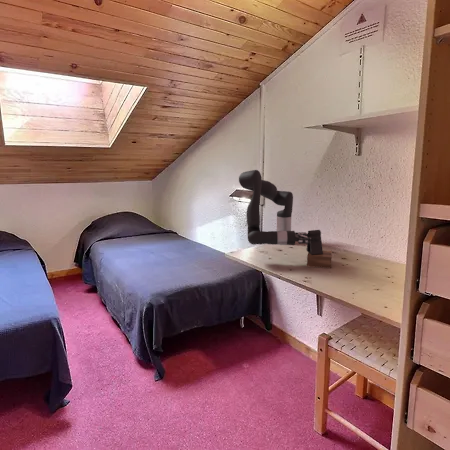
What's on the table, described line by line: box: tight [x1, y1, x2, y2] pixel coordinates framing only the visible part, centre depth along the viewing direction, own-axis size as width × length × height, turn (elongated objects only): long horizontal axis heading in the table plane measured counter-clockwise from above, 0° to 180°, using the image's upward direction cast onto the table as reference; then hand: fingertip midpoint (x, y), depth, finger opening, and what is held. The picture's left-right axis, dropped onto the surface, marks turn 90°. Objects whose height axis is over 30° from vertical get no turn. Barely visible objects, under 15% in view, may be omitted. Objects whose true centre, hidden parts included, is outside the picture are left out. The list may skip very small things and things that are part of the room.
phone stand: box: [306, 229, 324, 255], centre depth 188 cm, size 9×6×12 cm, turn 5°
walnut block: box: [306, 249, 333, 269], centre depth 188 cm, size 12×12×6 cm
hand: (316, 237), depth 186 cm, fingers open, 8 cm apart
